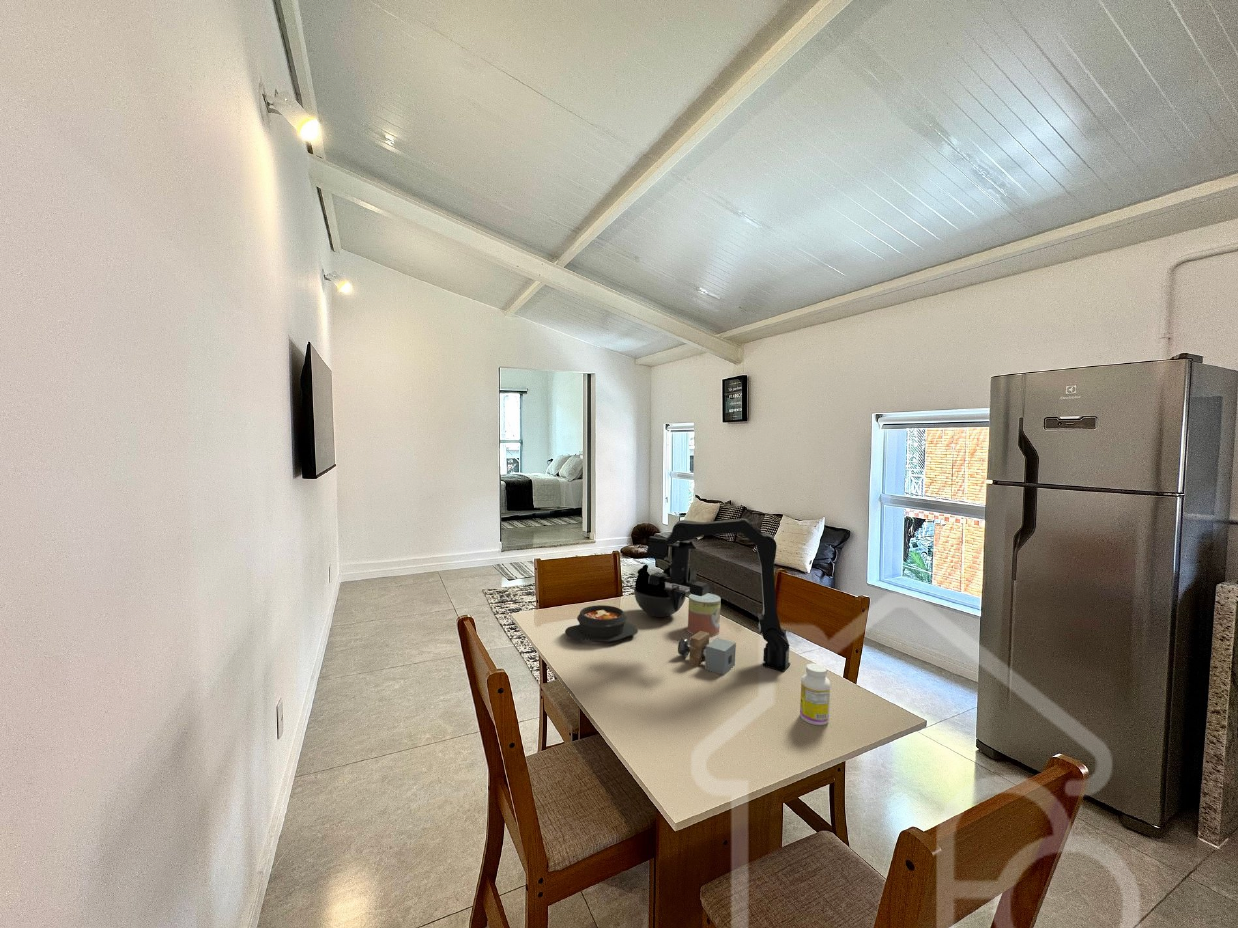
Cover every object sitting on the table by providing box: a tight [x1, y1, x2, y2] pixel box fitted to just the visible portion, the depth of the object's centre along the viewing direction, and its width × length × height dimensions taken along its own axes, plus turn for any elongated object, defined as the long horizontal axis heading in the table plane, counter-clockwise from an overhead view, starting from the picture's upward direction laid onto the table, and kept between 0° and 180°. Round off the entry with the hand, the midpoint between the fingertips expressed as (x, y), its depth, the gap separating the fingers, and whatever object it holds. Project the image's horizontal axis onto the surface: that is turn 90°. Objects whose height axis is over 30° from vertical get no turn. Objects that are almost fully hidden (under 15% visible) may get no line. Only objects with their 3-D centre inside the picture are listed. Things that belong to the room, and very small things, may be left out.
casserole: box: [564, 604, 639, 643], centre depth 172 cm, size 25×19×8 cm
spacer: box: [688, 631, 710, 667], centre depth 155 cm, size 3×7×8 cm, turn 145°
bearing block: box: [704, 637, 737, 676], centre depth 151 cm, size 6×8×7 cm
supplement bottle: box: [799, 663, 831, 726], centre depth 124 cm, size 7×7×13 cm
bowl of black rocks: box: [633, 563, 687, 618], centre depth 194 cm, size 20×20×19 cm
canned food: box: [687, 592, 722, 638], centre depth 180 cm, size 11×11×12 cm
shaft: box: [677, 637, 706, 657], centre depth 155 cm, size 13×5×5 cm, turn 55°
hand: (676, 610), depth 159 cm, fingers closed
